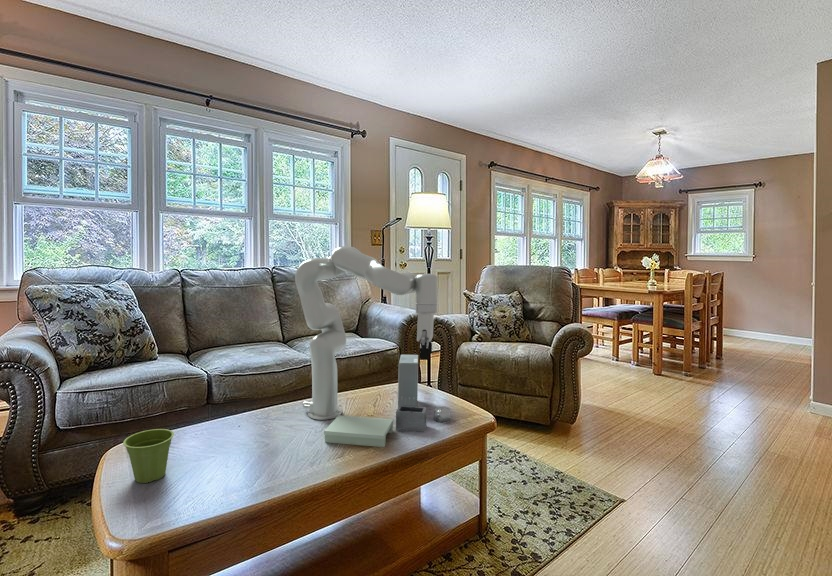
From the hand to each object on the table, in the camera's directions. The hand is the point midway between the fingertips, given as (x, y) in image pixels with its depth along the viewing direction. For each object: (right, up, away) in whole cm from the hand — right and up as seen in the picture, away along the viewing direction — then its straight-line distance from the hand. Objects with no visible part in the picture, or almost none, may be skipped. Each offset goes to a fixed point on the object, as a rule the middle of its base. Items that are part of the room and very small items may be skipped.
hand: (425, 356), depth 154 cm
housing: (-5, -26, 0) cm, 26 cm away
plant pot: (-77, -28, -35) cm, 89 cm away
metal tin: (+6, -25, +8) cm, 27 cm away
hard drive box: (-7, -24, +21) cm, 33 cm away
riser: (-23, -26, -7) cm, 35 cm away
